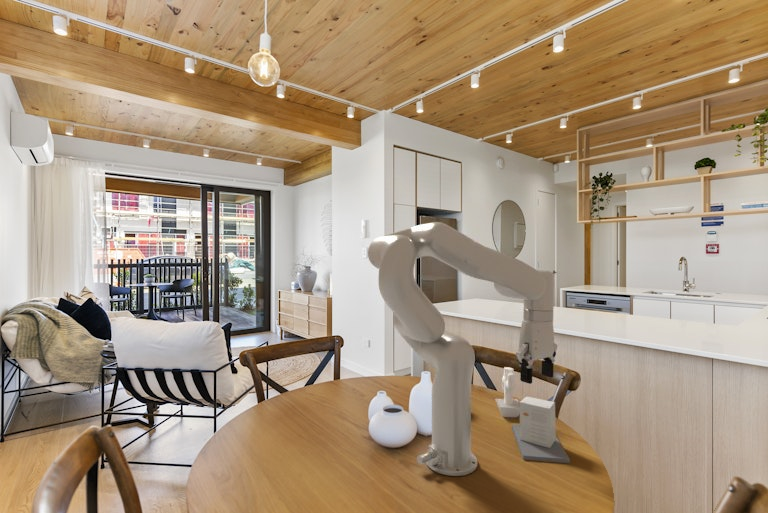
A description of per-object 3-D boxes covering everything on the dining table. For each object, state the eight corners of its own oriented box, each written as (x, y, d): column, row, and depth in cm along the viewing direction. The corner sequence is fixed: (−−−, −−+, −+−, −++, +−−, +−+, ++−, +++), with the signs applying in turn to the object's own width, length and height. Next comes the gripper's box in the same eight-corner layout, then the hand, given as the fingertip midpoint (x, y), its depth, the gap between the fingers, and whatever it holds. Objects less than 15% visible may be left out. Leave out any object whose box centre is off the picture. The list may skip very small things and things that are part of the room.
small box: (555, 440, 106) (556, 402, 106) (550, 449, 102) (550, 408, 101) (525, 432, 111) (526, 395, 111) (519, 440, 106) (519, 401, 106)
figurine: (516, 408, 130) (516, 363, 130) (524, 421, 121) (524, 372, 121) (494, 408, 131) (494, 363, 131) (500, 420, 121) (500, 372, 121)
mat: (569, 463, 97) (569, 459, 97) (523, 459, 98) (523, 455, 98) (550, 430, 114) (550, 427, 114) (511, 428, 116) (511, 424, 116)
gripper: (543, 312, 114) (542, 370, 114) (506, 316, 104) (505, 380, 104) (568, 315, 108) (567, 377, 108) (531, 320, 98) (530, 389, 98)
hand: (537, 379), depth 106 cm, fingers open, 9 cm apart
